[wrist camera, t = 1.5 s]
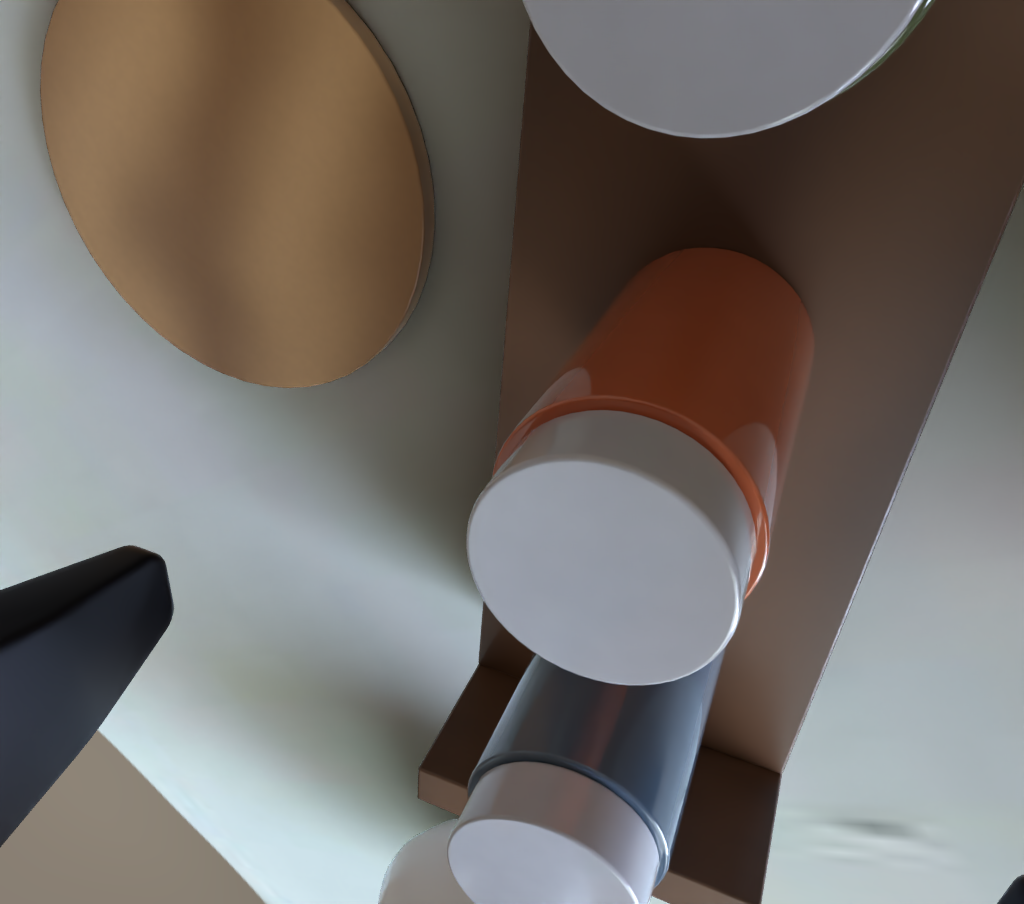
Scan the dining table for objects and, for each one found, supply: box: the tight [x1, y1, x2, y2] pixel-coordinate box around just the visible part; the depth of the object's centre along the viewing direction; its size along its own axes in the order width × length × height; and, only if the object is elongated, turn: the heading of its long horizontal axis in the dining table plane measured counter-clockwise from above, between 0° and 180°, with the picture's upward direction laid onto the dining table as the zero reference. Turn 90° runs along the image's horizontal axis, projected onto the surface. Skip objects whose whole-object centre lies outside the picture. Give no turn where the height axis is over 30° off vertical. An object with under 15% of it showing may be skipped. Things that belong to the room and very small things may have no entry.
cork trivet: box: [40, 0, 435, 388], centre depth 22 cm, size 11×11×1 cm
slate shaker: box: [447, 646, 727, 904], centre depth 17 cm, size 4×4×7 cm
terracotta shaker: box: [466, 248, 815, 685], centre depth 13 cm, size 4×4×7 cm
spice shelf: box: [418, 0, 1024, 904], centre depth 16 cm, size 8×23×6 cm, turn 175°
